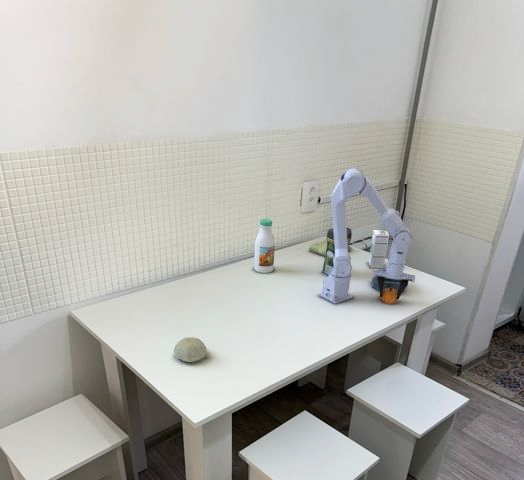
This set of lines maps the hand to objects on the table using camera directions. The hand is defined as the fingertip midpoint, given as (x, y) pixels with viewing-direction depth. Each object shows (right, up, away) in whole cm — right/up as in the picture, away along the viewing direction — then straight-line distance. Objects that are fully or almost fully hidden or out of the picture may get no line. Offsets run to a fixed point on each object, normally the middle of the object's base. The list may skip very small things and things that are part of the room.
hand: (389, 297), depth 176 cm
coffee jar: (-17, +12, +21) cm, 29 cm away
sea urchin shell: (-66, -21, -37) cm, 79 cm away
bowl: (+3, +5, +11) cm, 13 cm away
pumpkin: (0, -1, +1) cm, 1 cm away
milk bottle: (-45, +13, +20) cm, 51 cm away
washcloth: (-16, +25, +42) cm, 52 cm away
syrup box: (+2, +16, +30) cm, 34 cm away
